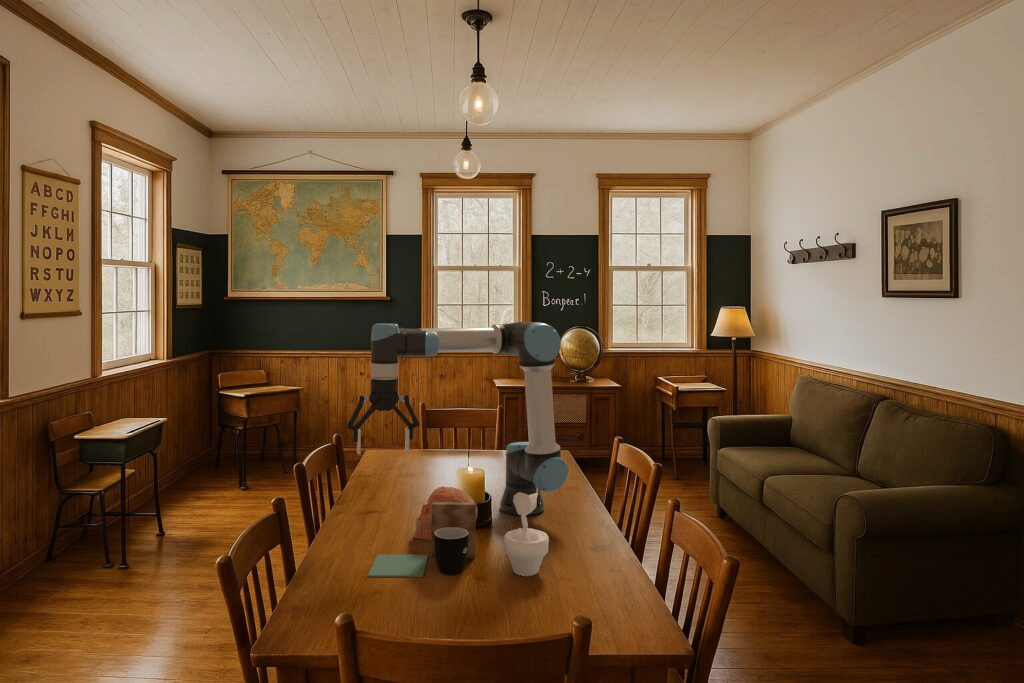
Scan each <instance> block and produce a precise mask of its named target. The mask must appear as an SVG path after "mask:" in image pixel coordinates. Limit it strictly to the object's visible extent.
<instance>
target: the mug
mask: <svg viewBox="0 0 1024 683" xmlns="http://www.w3.org/2000/svg"><path fill="white" fill-rule="evenodd" d="M434 546H435V557H436V558H435V562H436V567H437V569H438V572H439V573H441V574H442V575H446V576H447V575H448V576H455V575H460V574H461V573H463V571H464V569H465V566H466V562H467V559H468V558H467V550H468V531H467V530H465V529H463V528H458V527H446V528H441V529H438V530H437V531H435V533H434Z"/></svg>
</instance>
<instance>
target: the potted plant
mask: <svg viewBox="0 0 1024 683" xmlns="http://www.w3.org/2000/svg"><path fill="white" fill-rule="evenodd" d="M536 492H537V493H535V494H531V495H527V494H525V493H520V492H519V493H517V494H516V495H514V498H513V502H514V505H515V507H516V511H517V513H518V514H519V515H518V516H520V520H521V523H522V524H521V525H522V528H521V527H519V528H515V529H513V530H509V531H507V532H506V533H505V534H504V544H503V545H504V547H503V548H504V549H503V550H504V552H505V554H506V555H508V557H509V562H510V564H511V567H512V571H513V572H514V573H515V575H517V576H520V575H521V576H522V577H532V576H535V575H536V574H538V572H539V570H540V568H541V565H542V562H543V559H544V557H545V556H546V555H547V554H548V552H549V538H550V537H549V535H548V534H547V533H546V532H544V531H543V530H542V531H541V530H539V529H534V528H531V527H530V528H529V527H528V526H529V524H528V518H527V516H529V515H528V514H529V513H531V512H532V511H533V510H534V509H535V508H536V507H537V496H538V487H537V490H536ZM540 505H541V501H540Z"/></svg>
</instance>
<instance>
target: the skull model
mask: <svg viewBox="0 0 1024 683" xmlns="http://www.w3.org/2000/svg"><path fill="white" fill-rule="evenodd" d="M433 502H468V503H475V501H474V499H473V498H472V497H471V496H470V495H469V494H468V493H466V492H464V491H463V490H461V489H459V488H456V487H452V486H451V487H450V486H449V487H448V486H439V487H437V488H436V489H434V490H433V491H432V492H431V493H430V495H429V496H428V499H427V501H426V503H425V504H424V503H423V504H422V508H421V512H420V514H419V515H417V518H416V520H415V531H414V534H413V537H414V538H415V539H417V540H422V541H430V542H432V503H433ZM477 518H478V506H477V505H476V520H477Z"/></svg>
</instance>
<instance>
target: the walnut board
mask: <svg viewBox="0 0 1024 683" xmlns="http://www.w3.org/2000/svg"><path fill="white" fill-rule="evenodd" d="M476 506H477V503H476V502H474V503H468V502H433V503H432V541H431V551H430V552H431V554H430V555H431V558H433V559H436V557H435V546H434V533H435V531H437V530H438V529H441V528H446V527H458V528H463V529H465V530H467V531H468V550H467V558H466V559H475V558H476V526H477V525H476V522H477V519H476Z"/></svg>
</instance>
